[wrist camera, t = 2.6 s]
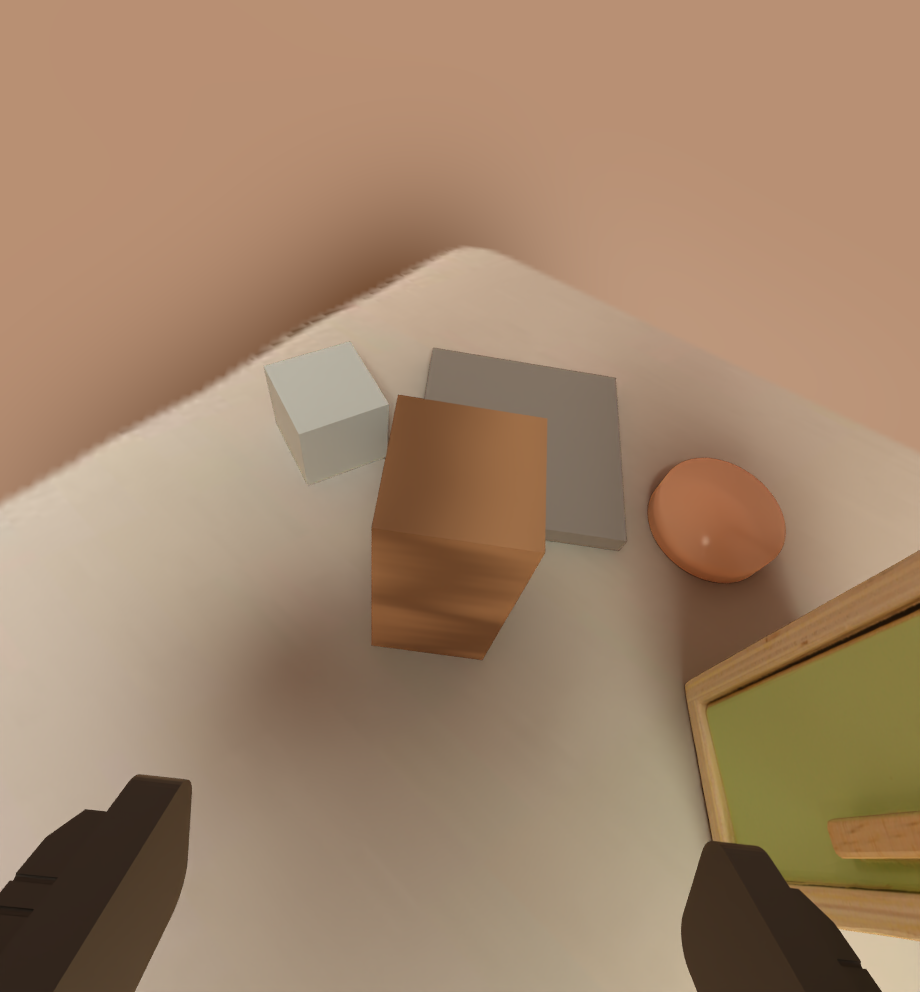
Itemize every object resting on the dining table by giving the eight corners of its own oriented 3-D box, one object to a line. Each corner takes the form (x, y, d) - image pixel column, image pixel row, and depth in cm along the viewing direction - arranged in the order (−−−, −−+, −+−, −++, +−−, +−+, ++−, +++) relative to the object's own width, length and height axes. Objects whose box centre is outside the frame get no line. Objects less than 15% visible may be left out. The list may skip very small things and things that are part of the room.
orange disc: (730, 467, 30) (745, 450, 29) (789, 570, 28) (810, 556, 26) (628, 483, 29) (640, 466, 28) (680, 594, 26) (696, 581, 25)
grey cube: (352, 399, 30) (350, 341, 26) (386, 457, 28) (389, 404, 25) (276, 424, 28) (263, 366, 25) (308, 487, 27) (298, 434, 23)
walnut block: (489, 559, 26) (547, 418, 17) (482, 660, 23) (545, 552, 15) (389, 545, 26) (398, 394, 17) (371, 645, 23) (371, 527, 15)
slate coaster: (609, 390, 32) (615, 377, 31) (618, 550, 27) (626, 541, 26) (431, 361, 32) (432, 347, 31) (404, 519, 26) (406, 508, 25)
